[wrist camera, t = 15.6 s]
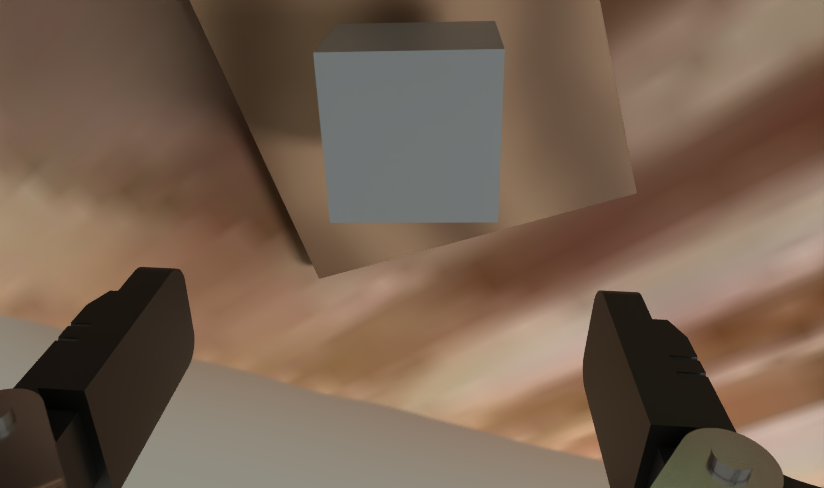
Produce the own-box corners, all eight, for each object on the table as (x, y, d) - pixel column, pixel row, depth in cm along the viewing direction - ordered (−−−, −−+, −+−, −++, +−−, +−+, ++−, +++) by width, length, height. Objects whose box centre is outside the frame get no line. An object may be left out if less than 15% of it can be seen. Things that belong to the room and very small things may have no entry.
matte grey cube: (336, 24, 25) (313, 52, 21) (495, 20, 25) (504, 48, 20) (348, 170, 28) (330, 222, 23) (490, 169, 27) (498, 222, 23)
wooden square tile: (556, -197, 24) (596, -230, 18) (630, 183, 31) (679, 262, 25) (178, -49, 27) (91, -29, 21) (323, 266, 34) (292, 357, 28)
